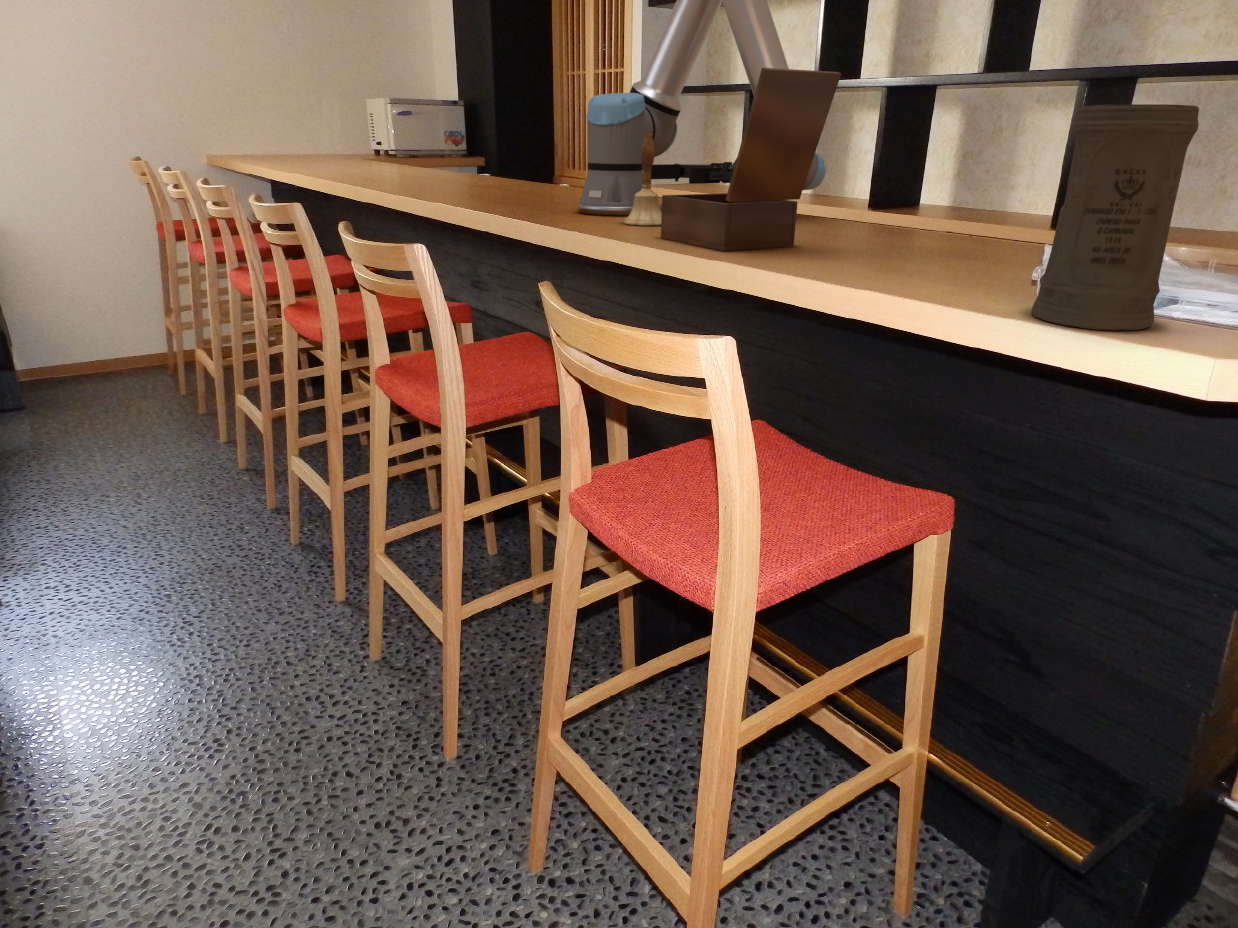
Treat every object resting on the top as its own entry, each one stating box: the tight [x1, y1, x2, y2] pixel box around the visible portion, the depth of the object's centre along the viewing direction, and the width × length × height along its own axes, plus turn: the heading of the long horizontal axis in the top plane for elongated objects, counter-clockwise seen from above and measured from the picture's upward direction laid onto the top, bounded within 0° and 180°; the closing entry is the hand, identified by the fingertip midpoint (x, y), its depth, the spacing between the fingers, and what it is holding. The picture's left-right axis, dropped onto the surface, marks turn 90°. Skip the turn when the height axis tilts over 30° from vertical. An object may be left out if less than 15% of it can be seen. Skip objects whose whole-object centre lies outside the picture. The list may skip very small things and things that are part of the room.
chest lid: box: [726, 68, 842, 202], centre depth 120 cm, size 18×14×1 cm
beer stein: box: [1030, 103, 1200, 331], centre depth 82 cm, size 15×11×20 cm
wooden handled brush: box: [623, 134, 662, 226], centre depth 157 cm, size 8×8×16 cm
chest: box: [660, 192, 798, 252], centre depth 134 cm, size 18×14×7 cm
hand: (669, 174), depth 159 cm, fingers open, 13 cm apart
